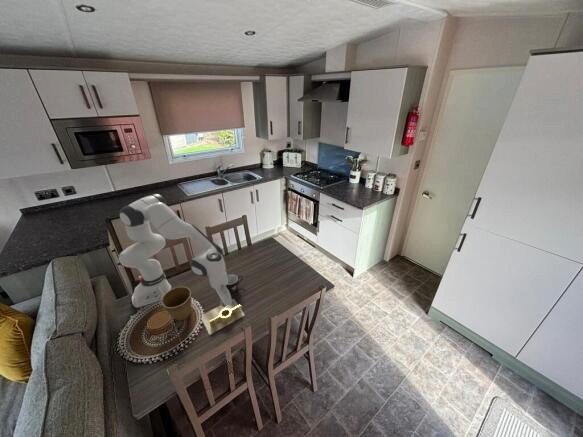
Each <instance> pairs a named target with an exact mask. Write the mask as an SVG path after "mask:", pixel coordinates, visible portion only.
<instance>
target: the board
mask: <svg viewBox="0 0 583 437" xmlns="http://www.w3.org/2000/svg"><path fill="white" fill-rule="evenodd" d="M231 299H232V303H231V304H229V305H227V306H225V307H222V306H221V305H219V306H217V307H215V308H212V309H210V310H209V311H207V312H205V313H203V314H202V315H203V316H202V318H201V317H200V319H201V321H202V322H203V325H204V327H205V329H206V331H207V332H208V335H212V334H214V333H216V332H218V331H219V330H221V329H224V327H227V326H229V325H230V324H232V323H234V322H235V321H237V320H240V319H241V318H242V317H245V313H244V312H243V310H242V311H241V312H239V313H238V314H236V315H234V316H233V318H232V321H231V322H229V323H228V324H223V323H222V322H221V323H219V324H217V325H216V326H214V327H212V328H211V326H210V322H209V321H210V320H212V319H214V318H216V317H218V316H219V313H220V311H221V310H223V309H225V308H229V309H230V310H231V309H233V308H235V307H236V306H238V305H239V304H238V303H237V301H236V300H235V298H231ZM226 316H227V315H226Z"/></svg>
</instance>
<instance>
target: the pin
mask: <svg viewBox="0 0 583 437" xmlns="http://www.w3.org/2000/svg"><path fill="white" fill-rule="evenodd" d="M218 297H219V301H220V306H222V307H225V304H224V303H223V302H222V299H221V298H220V296H219V295H218Z"/></svg>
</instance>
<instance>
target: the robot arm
mask: <svg viewBox="0 0 583 437" xmlns="http://www.w3.org/2000/svg"><path fill="white" fill-rule="evenodd" d="M118 217H119V219H120V221H121V222H122V223H123V224H124V228H125V231H126V235H127V237H128V239H130V240H131V241H134V242H135V243H133V244H132V245H129V246H128V247H126V248H125V249H124V250H122V251H121V252H120V253H119V254H118V261H119V263H120V264H121V265H122V266H123V267H126V268H135V269H137V270H138V272H139V273H140V275H139V276H137V277H138V278H137V279H138V280H139V284H138V285H137V286H135V288H134V289H133V290H134V291H133V294H132V296H131V302H132V305H133V306H134V308H137V309H138V308H141V307H144V306H147V305H150V304H151V305H152V304H154V303H158V302H161V301H162V298H163V296H164V295H165V294H166V293H167V292H168V291H170V290H171V289H172V285H171V284H170V283H169V281H168V280H167V278H166V274H165V271H164V270H163V269H162V265H161V263H160V261H159V260H157V259H155V258H150V257H153V256H154V255H156V254H157V253H159V252H161V250H162V249H163V248H165V247H166V240H165V239H167V240H178V239H182V238H190V239H192V240H194V241H195V242H196V243H198V245H199V246H201V247H202V248H203V250H202V251H201V252H200V253H198V254H197V255H196V256H195V257H193V258H192V259H191V260H190V261H189V267H190V269H191V272H192V273H193V274H194V275H196V276H200V277H207V278H208V281H209V286H210V287H211V288H212V289H214V290H215V291H216V293H217V294H218V297H219V296H220V297H219V299H220V298H221V299H222V302H223V303H224V304H225V306H227V305H229V304H231V303H232V299H233V298H232V295H231V293H230V292H229V290H228V289H227V287H226V285H227V283H228V277H227V276H228V273H227V270H226V263H225V259H224V250H223V249H222V247H221V246H220V245H218V244H216V243H215V242H214V241H212V240H211V239H210V238H209V237H208V236H206V234H204V233H203V232H202V231H201V230H200V229H199V228H198V227H196V226H195V225H194V224H192V223H190V222H189V223H188V222H186V221H184V220H182V219H181V218H180V217H179V216H178V215H177V214H176V213H175V212H174V211H173V210H172V209H171V208H170V207H169V206H168V205H167V201H166V199H165V198H164V197H163V196H162V195H160V194H158V193H153V194H149V195H146V196H144V197H141V198H139V199H137V200H135V201H134V202H131V203H130V204H128V205H125V206H123V207H122V208H121V209H120V210H119V212H118ZM150 223H151V224H152V225H153V227H154V229H156V230H157V231H158V233H154V232H153V231H152V229H151V226H150V225H151V224H150ZM160 300H161V301H160ZM157 301H158V302H157Z"/></svg>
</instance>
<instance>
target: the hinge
mask: <svg viewBox="0 0 583 437" xmlns="http://www.w3.org/2000/svg"><path fill="white" fill-rule="evenodd" d="M241 311H242V312H243V310H242V305H241V304H238V306H236V307H235V308H233V309H231V310H230V309H229V308H225V309H223V310H221V311H220V313H219V316H218V317H216V318H214V319H212V320H210V321H209V322H210V326H211V328H212V327H214V326H216V325H217V324H219V323H221V322H222V323H223V324H228V323H229V322H231V321H232V318H233V316H234V315H236V314H238V313H239V312H241ZM226 315H227V316H226ZM228 325H229V324H228Z"/></svg>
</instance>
